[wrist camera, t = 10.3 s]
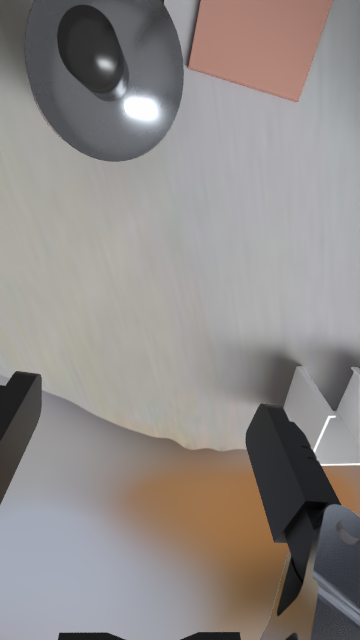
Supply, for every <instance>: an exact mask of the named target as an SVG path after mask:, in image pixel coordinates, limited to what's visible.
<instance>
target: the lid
mask: <svg viewBox="0 0 360 640" xmlns="http://www.w3.org/2000/svg"><path fill="white" fill-rule="evenodd" d="M25 60H26V67H27V73H28V78H29V81H30V85H31V89H32V91H33V94H34V96H35V99H36V101H37V103H38V105H39V107H40V109H41V111H42V113H43V115H44V116H45V118H46V119H47V121H48V122H49V124H50V125H51V126H52V127H53V129H54V130H55V131H56V132H57V133H58V134H59V135H60V136H61V137H62V139H63V140H65V141H66V142H67V143H68V144H70V145H71V146H72V147H73V148H75V149H77V150H78V151H80V152H81V153H83V154H86V155H88V156H90V157H93V158H96V159H99V160H104V161H116V162H118V161H126V160H130V159H134V158H137V157H139V156H141V155H144V154H145V153H147V152H148V151H150V150H151V149H153V148H154V147H155V146H156V145H157V144H158V143H159V142H160V141H161V140H162V139H163V138H164V136H165V135H166V134H167V132H168V131H169V129H170V127H171V125H172V123H173V121H174V119H175V117H176V114H177V111H178V108H179V105H180V101H181V97H182V90H183V75H184V70H183V57H182V52H181V46H180V42H179V38H178V35H177V31H176V29H175V26H174V24H173V21H172V19H171V17H170V15H169V13H168V11H167V9H166V7H165V6H164V4H163V3H162V1H161V0H35V1H34V3H33V5H32V8H31V10H30V14H29V17H28V21H27V27H26V33H25Z"/></svg>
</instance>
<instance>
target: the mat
mask: <svg viewBox="0 0 360 640" xmlns="http://www.w3.org/2000/svg"><path fill="white" fill-rule="evenodd" d="M332 1H333V0H201V2H200V7H199V13H198V18H197V23H196V29H195V34H194V39H193V45H192V50H191V55H190V61H189V66H188V68H189V69H192V70H195V71H199V72H202V73H205V74H208V75H211V76H215V77H218V78H221V79H224V80H227V81H231V82H234V83H237V84H240V85H243V86H247V87H250V88H253V89H256V90H260V91H263V92H266V93H269V94H272V95H276V96H279V97H282V98H285V99H288V100H292V101H295V102H298V101H299V98H300V95H301V92H302V89H303V86H304V83H305V80H306V77H307V75H308V72H309V69H310V66H311V63H312V60H313V57H314V54H315V51H316V48H317V45H318V42H319V39H320V36H321V34H322V31H323V28H324V25H325V22H326V19H327V16H328V13H329V10H330V7H331V4H332Z"/></svg>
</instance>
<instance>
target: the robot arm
mask: <svg viewBox="0 0 360 640" xmlns="http://www.w3.org/2000/svg"><path fill="white" fill-rule="evenodd" d="M41 392H42V379H41V375H40V374H35V373H28V372H20V371H16V372H15V373H14V374H13V376H12V377H11V378H10V380H9V382H8V383H7V385H6V386H2V385H0V504H1V502H2V500H3V498H4V495H5V493H6V491H7V489H8V487H9V485H10V482H11V480H12V478H13V475H14V474H15V471H16V469H17V467H18V465H19V463H20V460H21V458H22V456H23V454H24V452H25V450H26V447H27V445H28V443H29V441H30V439H31V437H32V434H33V432H34V430H35V428H36V426H37V423H38V420H39V417H40V413H41V405H42V404H41V403H42V402H41V401H42V400H41V396H42V395H41ZM246 447H247V451H248V454H249V457H250V461H251V465H252V468H253V471H254V474H255V478H256V482H257V485H258V488H259V492H260V495H261V499H262V502H263V506H264V509H265V512H266V516H267V519H268V523H269V526H270V529H271V533H272V536H273V540H274V542H276V543H288V546H289V549H290V553H289V554H288V555H287V558H286V562H285V565H284V569H283V573H282V576H281V580H280V583H279V587H278V591H277V594H276V598H275V602H274V605H273V609H272V613H271V617H270V619H269V621H268V624H267V626H266V628H265V630H264V632H263V634H262V636H261V638H260V640H360V517H359V516H357V515H356V514H355V513H354V512H352V511H351V510H350V509H348V508H346V507H344V506H342V505H341V503H340V502H339V500H338V498H337V496H336V494H335V492H334V490H333V488H332V486H331V484H330V483H329V480H328V478H327V477H326V475H325V473H324V471H323V469H322V467H321V465H320V463H319V461H318V460H317V457H316V455H315V453H314V451H313V449H311V445H310V443H309V441H308V439H307V438H306V436H305V434H304V433H303V431H302V430H301V429H300V428H299V427H298V426H297V425H296V424H295V423H294V422H291V421H289V419H288V417H287V415H286V412H285V410H284V409H283V407H281V406H276V405H268V404H261V405H259V407H258V409H257V411H256V413H255V415H254V417H253V419H252V421H251V423H250V425H249V427H248V429H247V432H246ZM58 640H125V639H122V638H120V637H117V636H114V635H112V634H109V633H59V638H58ZM181 640H241V639H240V633H239V632H198V633H196V634H193V635H191V636H188V637H186V638H184V639H181Z"/></svg>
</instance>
